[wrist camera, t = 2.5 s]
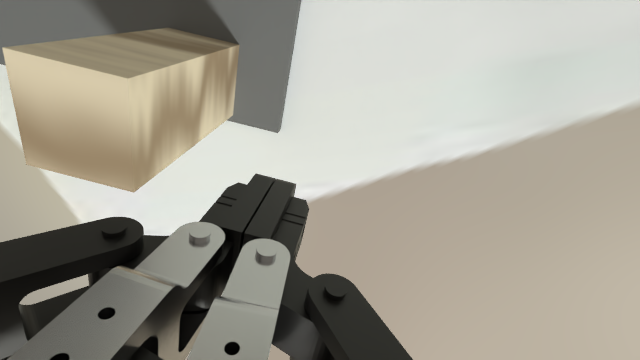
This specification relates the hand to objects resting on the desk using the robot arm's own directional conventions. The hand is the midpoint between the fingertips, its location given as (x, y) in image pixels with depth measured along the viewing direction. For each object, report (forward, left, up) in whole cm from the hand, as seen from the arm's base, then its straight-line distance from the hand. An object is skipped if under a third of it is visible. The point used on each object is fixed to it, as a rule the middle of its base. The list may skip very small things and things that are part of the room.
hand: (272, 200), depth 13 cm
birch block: (0, -9, -13) cm, 16 cm away
